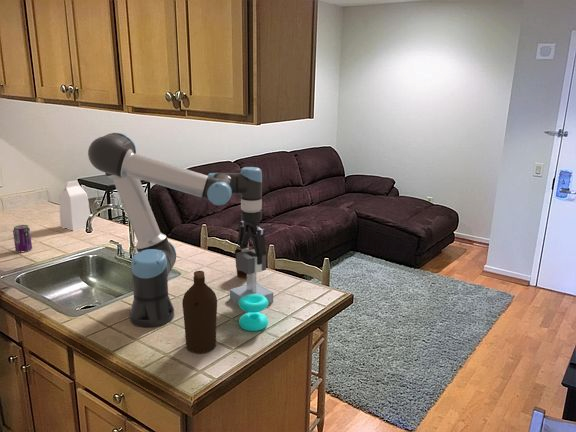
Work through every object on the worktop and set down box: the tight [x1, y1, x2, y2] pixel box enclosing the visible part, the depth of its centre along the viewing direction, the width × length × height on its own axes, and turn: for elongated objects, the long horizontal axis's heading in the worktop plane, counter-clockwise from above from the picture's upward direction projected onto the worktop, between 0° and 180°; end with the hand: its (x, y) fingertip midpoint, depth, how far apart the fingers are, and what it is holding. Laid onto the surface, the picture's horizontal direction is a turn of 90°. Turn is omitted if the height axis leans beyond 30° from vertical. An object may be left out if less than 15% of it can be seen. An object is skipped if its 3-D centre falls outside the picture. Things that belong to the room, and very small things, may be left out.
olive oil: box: [181, 270, 218, 354], centre depth 150 cm, size 11×11×25 cm
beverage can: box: [12, 224, 33, 253], centre depth 232 cm, size 7×7×12 cm
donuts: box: [238, 294, 269, 332], centre depth 166 cm, size 10×10×10 cm
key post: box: [246, 273, 257, 293], centre depth 183 cm, size 2×4×9 cm, turn 38°
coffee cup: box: [234, 245, 254, 279], centre depth 207 cm, size 9×8×13 cm
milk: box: [58, 180, 91, 232], centre depth 268 cm, size 12×12×26 cm
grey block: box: [235, 248, 267, 275], centre depth 181 cm, size 8×8×6 cm
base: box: [229, 282, 274, 305], centre depth 185 cm, size 12×12×4 cm
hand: (251, 268), depth 182 cm, fingers closed on grey block, 8 cm apart
